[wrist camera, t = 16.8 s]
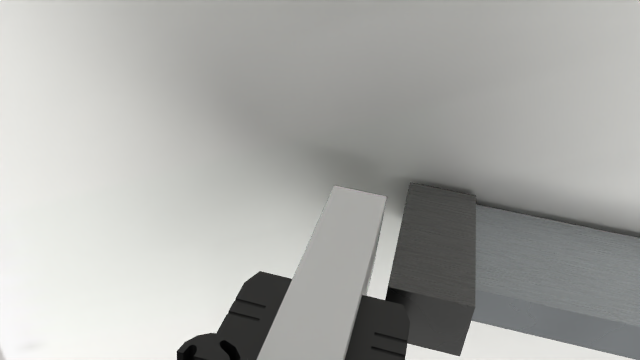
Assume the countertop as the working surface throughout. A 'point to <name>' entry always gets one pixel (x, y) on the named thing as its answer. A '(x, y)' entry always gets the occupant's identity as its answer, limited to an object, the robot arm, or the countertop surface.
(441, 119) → the countertop surface
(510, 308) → the bar
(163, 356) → the countertop surface
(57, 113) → the countertop surface
